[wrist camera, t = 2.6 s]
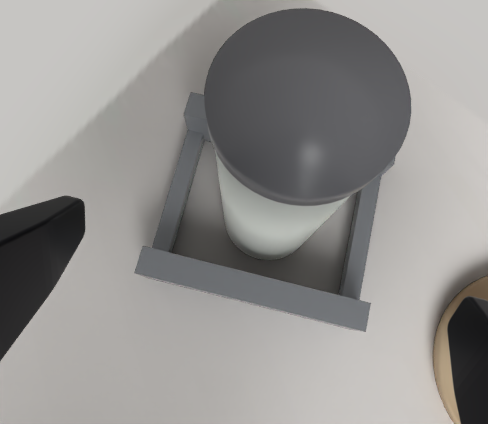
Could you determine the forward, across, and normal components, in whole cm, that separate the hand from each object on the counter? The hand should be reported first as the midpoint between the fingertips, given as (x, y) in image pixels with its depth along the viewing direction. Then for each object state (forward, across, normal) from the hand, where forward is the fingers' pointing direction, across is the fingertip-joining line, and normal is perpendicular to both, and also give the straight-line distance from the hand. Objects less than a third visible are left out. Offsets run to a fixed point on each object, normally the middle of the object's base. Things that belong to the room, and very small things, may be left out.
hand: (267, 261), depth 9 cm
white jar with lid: (+10, 0, +5) cm, 11 cm away
